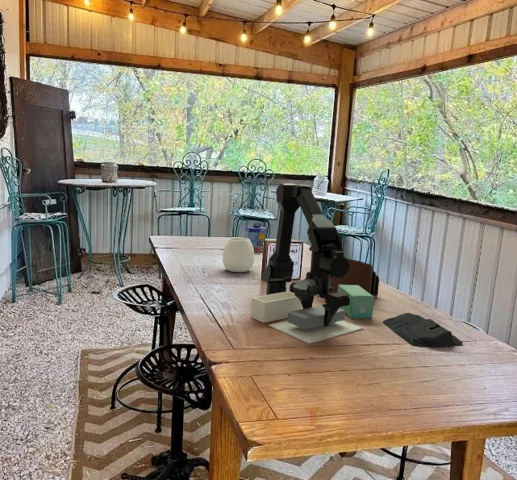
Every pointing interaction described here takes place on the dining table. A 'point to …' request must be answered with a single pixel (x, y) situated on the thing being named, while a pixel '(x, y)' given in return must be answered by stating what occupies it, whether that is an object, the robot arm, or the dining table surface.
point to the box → (357, 301)
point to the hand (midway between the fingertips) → (316, 322)
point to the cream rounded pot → (238, 254)
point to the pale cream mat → (316, 330)
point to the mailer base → (274, 306)
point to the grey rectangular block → (312, 317)
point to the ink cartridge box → (256, 236)
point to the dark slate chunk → (421, 331)
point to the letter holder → (358, 278)
